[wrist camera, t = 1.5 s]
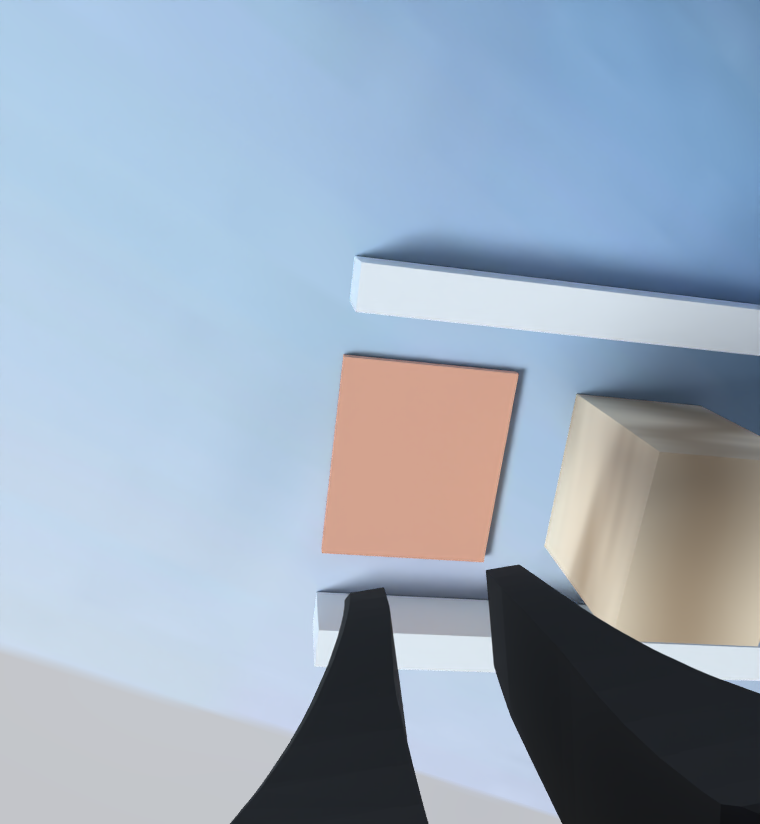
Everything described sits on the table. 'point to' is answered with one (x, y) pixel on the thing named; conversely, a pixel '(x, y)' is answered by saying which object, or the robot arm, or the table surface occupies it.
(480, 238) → the table surface
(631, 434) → the pale gold metal block
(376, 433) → the trap channel
